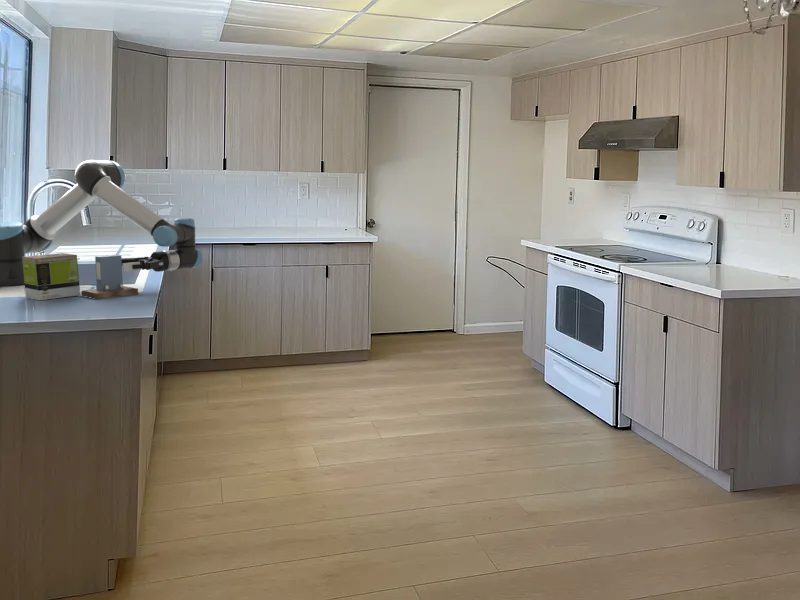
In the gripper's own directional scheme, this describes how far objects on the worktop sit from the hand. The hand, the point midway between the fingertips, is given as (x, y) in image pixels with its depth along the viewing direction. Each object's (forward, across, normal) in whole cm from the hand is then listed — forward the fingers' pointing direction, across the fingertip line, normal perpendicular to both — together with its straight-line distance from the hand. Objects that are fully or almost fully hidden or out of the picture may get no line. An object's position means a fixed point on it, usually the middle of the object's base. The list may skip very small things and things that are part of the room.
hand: (112, 265), depth 272 cm
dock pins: (+1, 0, -8) cm, 8 cm away
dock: (+1, 0, -10) cm, 10 cm away
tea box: (+17, +11, -11) cm, 23 cm away
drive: (+1, 0, -8) cm, 8 cm away
